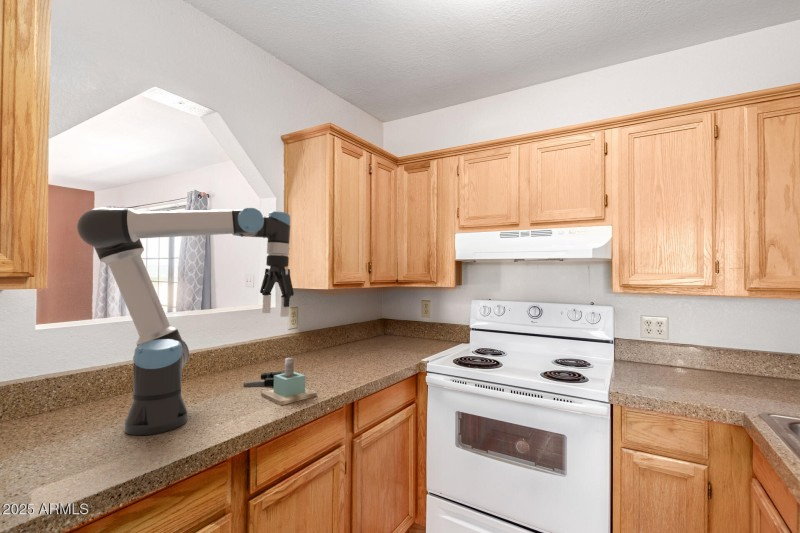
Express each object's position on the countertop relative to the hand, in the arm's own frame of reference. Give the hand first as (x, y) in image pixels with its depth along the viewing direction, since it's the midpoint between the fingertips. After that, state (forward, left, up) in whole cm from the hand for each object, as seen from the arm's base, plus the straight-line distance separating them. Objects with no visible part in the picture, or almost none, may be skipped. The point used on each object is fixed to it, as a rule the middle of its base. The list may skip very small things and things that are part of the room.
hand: (275, 314), depth 134 cm
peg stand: (+4, -3, -29) cm, 29 cm away
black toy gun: (+7, +18, -30) cm, 35 cm away
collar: (+4, -3, -28) cm, 28 cm away
